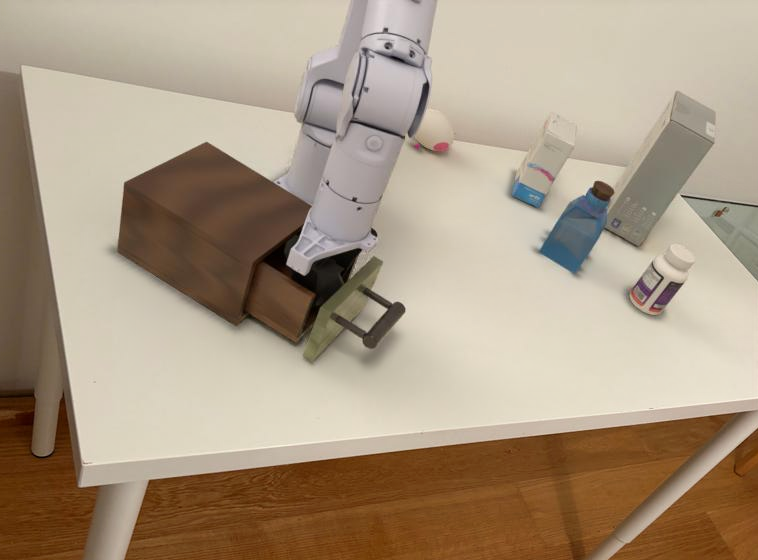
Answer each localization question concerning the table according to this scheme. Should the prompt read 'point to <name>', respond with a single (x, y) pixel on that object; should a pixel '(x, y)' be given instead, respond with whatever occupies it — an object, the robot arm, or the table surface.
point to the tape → (330, 289)
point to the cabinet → (206, 225)
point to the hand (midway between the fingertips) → (315, 292)
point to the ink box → (545, 159)
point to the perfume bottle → (579, 228)
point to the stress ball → (435, 131)
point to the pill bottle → (662, 280)
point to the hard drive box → (660, 167)
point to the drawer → (293, 305)
